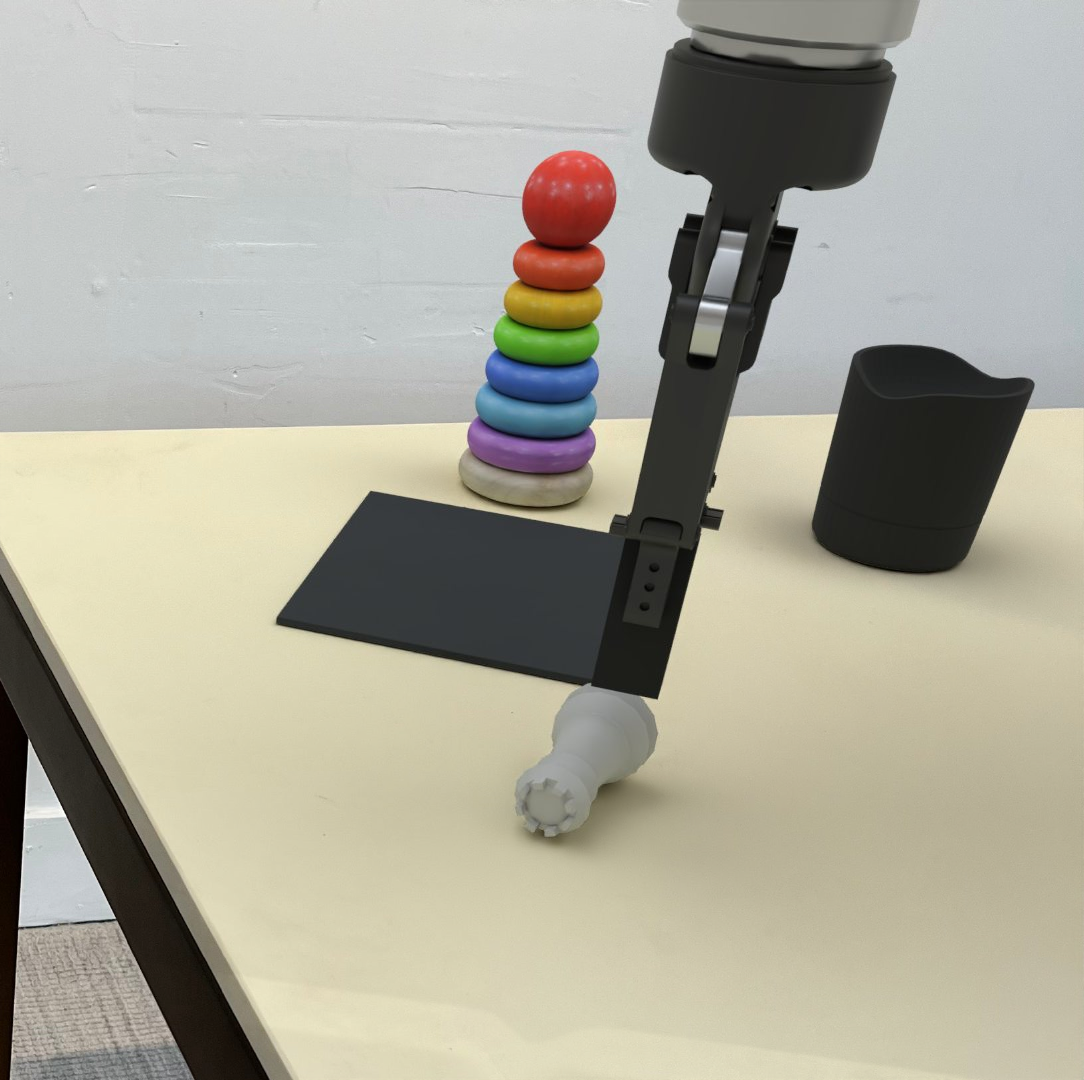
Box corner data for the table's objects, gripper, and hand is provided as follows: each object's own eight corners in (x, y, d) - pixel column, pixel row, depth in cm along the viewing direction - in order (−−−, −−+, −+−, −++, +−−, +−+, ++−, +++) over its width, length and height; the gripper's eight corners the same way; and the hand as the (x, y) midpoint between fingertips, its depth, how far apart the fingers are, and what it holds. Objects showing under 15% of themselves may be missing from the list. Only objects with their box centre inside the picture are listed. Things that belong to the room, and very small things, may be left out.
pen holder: (954, 524, 109) (1012, 354, 103) (989, 585, 102) (1054, 405, 96) (792, 507, 110) (840, 337, 105) (815, 566, 103) (868, 386, 97)
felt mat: (643, 545, 104) (645, 539, 104) (592, 687, 89) (594, 679, 89) (369, 496, 108) (370, 490, 108) (275, 623, 93) (276, 616, 93)
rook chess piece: (612, 786, 82) (546, 875, 77) (542, 716, 82) (471, 800, 77) (683, 730, 79) (619, 819, 74) (610, 657, 79) (540, 741, 74)
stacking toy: (546, 460, 115) (611, 135, 104) (613, 507, 109) (690, 167, 98) (433, 468, 113) (487, 137, 102) (495, 516, 107) (559, 170, 96)
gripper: (691, 9, 67) (560, 609, 81) (646, 58, 57) (506, 732, 71) (906, 31, 65) (734, 643, 79) (897, 86, 55) (703, 775, 69)
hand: (626, 685), depth 75 cm, fingers closed
